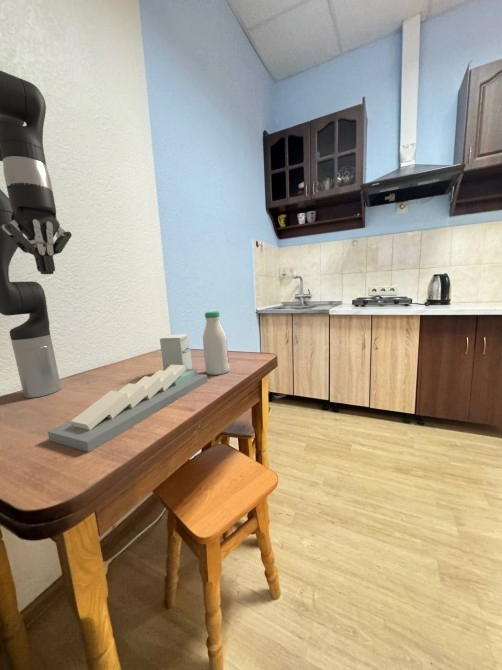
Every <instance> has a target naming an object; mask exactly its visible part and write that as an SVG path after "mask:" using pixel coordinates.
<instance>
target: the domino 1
mask: <svg viewBox="0 0 502 670" xmlns="http://www.w3.org/2000/svg"><path fill="white" fill-rule="evenodd" d="M118 391H119V390H118ZM118 391H117V390H109V391H108V392H107V393H106V394H104V395H103V396H101V397H100V398H99V399H98V400H96V401H95V402H94V403H93V404H91V405H89V407H87V408H86V409H85V410H84V411H82V412H81V413H80V414H78V415H77V416H76V417H74V418H72V421H71V420H70V421H71V422H72V424H73V426H74V427H78V428H83V429H87V430H91V429H92V428H94V427H95V426H96V425H97V424H98V423H99V422H101V421H102V420H103V419H104V418H105V417H106V416H108V415H109V414H110V413H111V412H112V411H114V410H115V409H116V408H117V407H118V406H119V405H121V404H122V403H123V402H124V401H125V400H127V399H128V395H127V393H125V392H118Z"/></svg>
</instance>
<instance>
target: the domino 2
mask: <svg viewBox="0 0 502 670" xmlns="http://www.w3.org/2000/svg"><path fill="white" fill-rule="evenodd" d="M144 391H145V387H144V385H139V384H136V383H127V384H125V385H124V386H123V387H122V388H121V389H119V390H118V392H125V393H127V395H128V399H127V400H125V401H124V402H123V403H122V404H121V405H119V406H118V407H117V408H116V409H115V410H114V411H112V412H111V413H110V414H109V415H108V416H106V417H105V418H110V419H113V418H114V417H115V416H116V415H117V414H119V413H120V412H121V411H122V410H123V409H124V408H125V407H127V406H128V405H129V404H130V403H131V402H132V401H133V400H135V399H136V398H137V397H138V396H139V395H140V394H141V393H143V392H144Z"/></svg>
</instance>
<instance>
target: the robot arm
mask: <svg viewBox="0 0 502 670" xmlns="http://www.w3.org/2000/svg"><path fill="white" fill-rule="evenodd" d="M46 112H47V105H46V100H45V98H44V95H43V93H42V92H41V90H40V89H39V88H38V87H37V86H36V85H35V84H34V83H31V82H30V81H28V80H26V79H23V78H20V77H18V76H16V75H12V74H10V73H9V72H5V71H2V70H0V162H2V166H3V169H2V170H3V176H4V180H5V186H6V191H7V194H6V193H5V192H4V191H3V190H2V189H1V188H0V314H1V315H2V316H8V317H9V316H17V315H19V316H20V315H29V317H28V319H27V320H25V322H23V323H22V324H20V325H17V326H14V327H13V328H11V329H10V330H9V336H10V341H11V345H12V350H13V354H14V358H15V362H16V363H15V364H16V367H17V371H18V376H19V381H20V384H21V389H22V394H23V397H24V398H27V399H29V398H30V399H31V398H38V397H44V396H48V395H52V394H54V393H56V392H58V391H59V390H61V389H62V385H61V381H60V375H59V370H58V365H57V360H56V355H55V351H54V346H53V341H52V337H51V331H50V330H51V329H50V319H49V312H48V306H47V299H46V298H47V297H46V294H45V290H44V288H43V287H42V285H41V284H40V283H39V282H37V281H10V275H9V274H10V271H9V269H10V264H11V261H12V258H13V256H14V255H15V253H16V251H17V250H18V248H19V249H20V250H21V251H22V252H23V253H25V254H30V255H32V256H33V257H34V259H35V264H36V269H37V271H38V272H39V273H40V275H53V274H54V272H56V267H55V261H54V255H58V254H61V253H62V251H64V248H66V247H65V246H66V245H67V244H68V242H69V241H70V239H71V237H72V235H73V234H72V233H71V232H70V231H66V230H64V229H63V228H62V227H61V225H60V224H61V223H60V222H59V220H58V218H57V209H56V208H57V207H56V203H55V197H54V191H53V186H52V181H51V177H50V174H49V169H48V168H47V162H46V161H47V160H46V156H45V151H44V150H45V149H44V144H43V143H44V141H43V139H44V137H43V135H44V125H45V120H46V119H45V118H46ZM55 236H56V240H55V241H54V237H55Z"/></svg>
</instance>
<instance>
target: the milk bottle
mask: <svg viewBox="0 0 502 670" xmlns="http://www.w3.org/2000/svg"><path fill="white" fill-rule="evenodd" d="M204 317H205V328H204V331H203V335H202V344H203V345H202V347H203V355H204V364H205V372H206V375H211V376H217V375H223V374H226V373H228V372H229V371H230V361H229V350H228V343H227V335H226V332H225V330H224V328H223V326H222V325H221V322H220V317H221V316H220V312H219V311H207V312H205V313H204Z"/></svg>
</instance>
